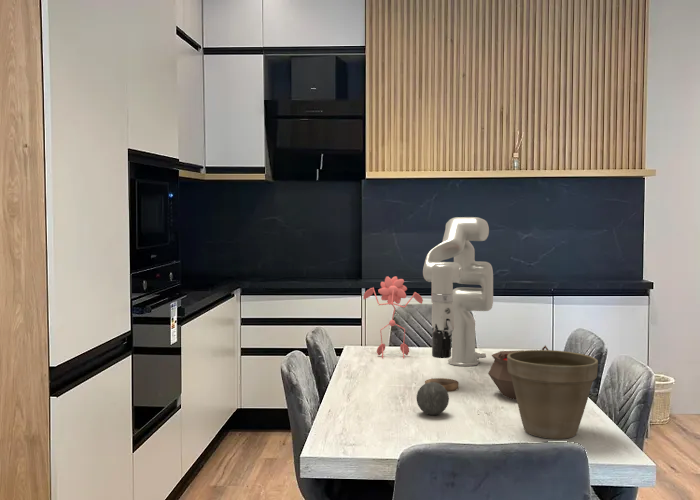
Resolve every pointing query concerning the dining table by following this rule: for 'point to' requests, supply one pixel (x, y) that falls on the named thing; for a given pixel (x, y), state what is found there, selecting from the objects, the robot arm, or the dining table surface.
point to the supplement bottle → (439, 345)
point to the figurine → (391, 293)
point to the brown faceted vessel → (503, 374)
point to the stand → (445, 383)
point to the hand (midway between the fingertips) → (441, 347)
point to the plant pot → (551, 390)
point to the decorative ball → (432, 398)
